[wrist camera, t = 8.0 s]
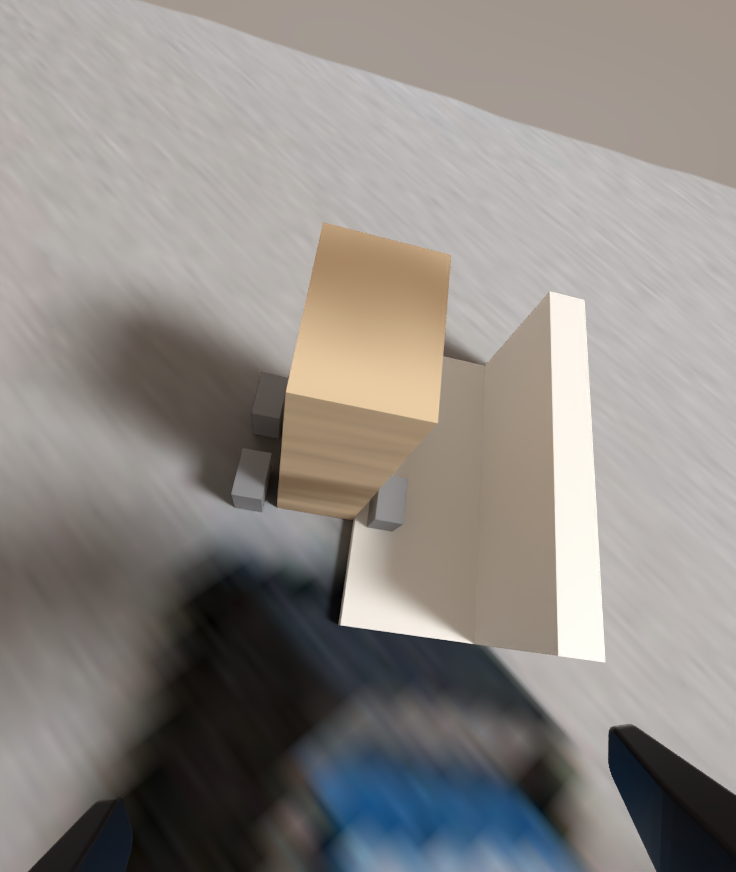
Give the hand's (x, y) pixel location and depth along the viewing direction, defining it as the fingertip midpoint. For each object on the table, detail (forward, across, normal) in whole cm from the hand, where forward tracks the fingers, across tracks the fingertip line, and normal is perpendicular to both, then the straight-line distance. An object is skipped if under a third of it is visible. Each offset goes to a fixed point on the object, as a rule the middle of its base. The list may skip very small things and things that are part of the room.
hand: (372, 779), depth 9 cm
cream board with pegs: (+15, -2, -1) cm, 15 cm away
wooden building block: (+15, +1, -2) cm, 15 cm away
